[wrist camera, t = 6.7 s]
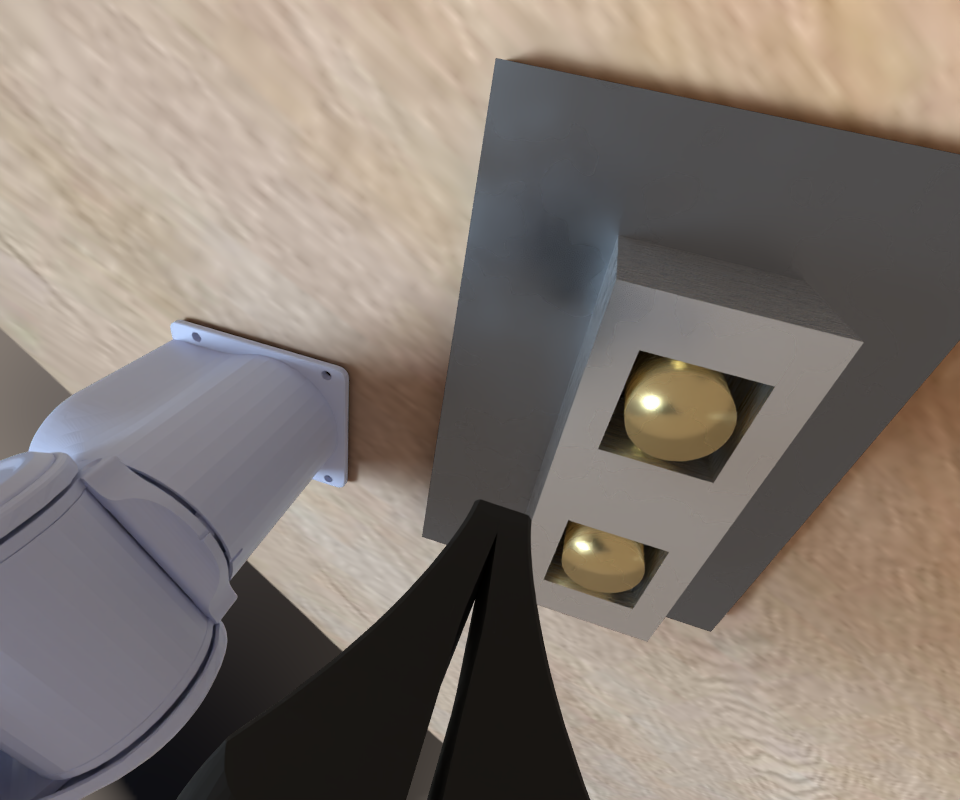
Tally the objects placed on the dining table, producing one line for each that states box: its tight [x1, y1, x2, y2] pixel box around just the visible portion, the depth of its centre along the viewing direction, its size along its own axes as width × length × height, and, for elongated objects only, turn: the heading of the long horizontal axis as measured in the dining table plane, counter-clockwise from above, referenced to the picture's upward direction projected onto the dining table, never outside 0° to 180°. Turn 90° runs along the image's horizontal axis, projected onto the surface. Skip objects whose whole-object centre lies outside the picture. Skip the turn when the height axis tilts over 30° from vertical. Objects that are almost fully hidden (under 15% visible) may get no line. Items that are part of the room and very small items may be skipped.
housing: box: [525, 236, 864, 642], centre depth 18 cm, size 6×14×4 cm, turn 170°
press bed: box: [422, 58, 960, 632], centre depth 20 cm, size 16×22×1 cm
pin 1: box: [562, 520, 645, 593], centre depth 19 cm, size 3×3×4 cm
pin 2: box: [624, 350, 737, 461], centre depth 15 cm, size 3×3×4 cm
